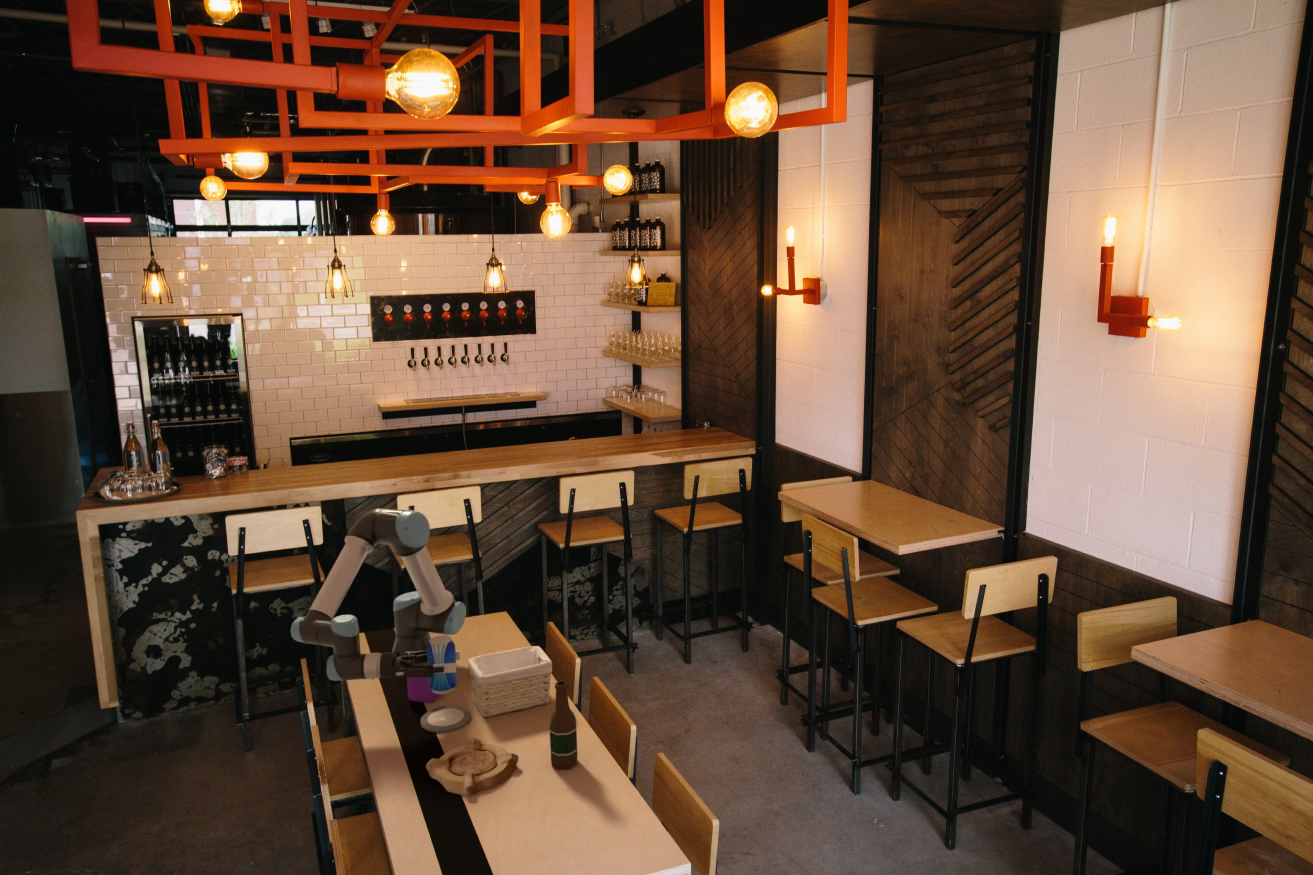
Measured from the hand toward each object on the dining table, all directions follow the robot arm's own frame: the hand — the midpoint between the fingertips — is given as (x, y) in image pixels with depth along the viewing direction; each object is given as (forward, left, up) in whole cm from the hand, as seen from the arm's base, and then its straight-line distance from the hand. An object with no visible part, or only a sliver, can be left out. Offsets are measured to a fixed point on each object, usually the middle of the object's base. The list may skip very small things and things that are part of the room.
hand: (457, 661), depth 265 cm
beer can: (0, -5, -9) cm, 10 cm away
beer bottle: (+29, +32, -19) cm, 47 cm away
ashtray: (+30, +7, -20) cm, 37 cm away
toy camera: (-18, -13, -19) cm, 29 cm away
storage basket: (-9, +15, -19) cm, 26 cm away
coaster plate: (0, -5, -19) cm, 20 cm away
